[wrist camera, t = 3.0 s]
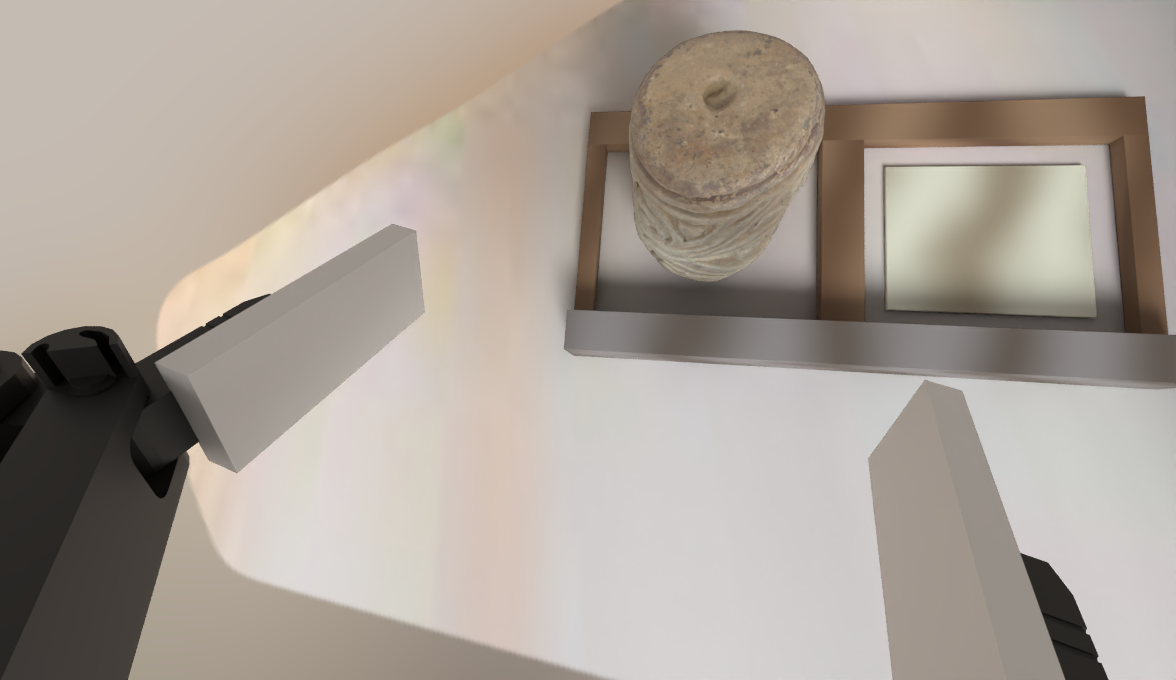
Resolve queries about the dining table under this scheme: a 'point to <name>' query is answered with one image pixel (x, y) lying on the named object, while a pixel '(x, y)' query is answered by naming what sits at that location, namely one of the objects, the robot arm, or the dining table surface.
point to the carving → (721, 149)
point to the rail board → (934, 254)
